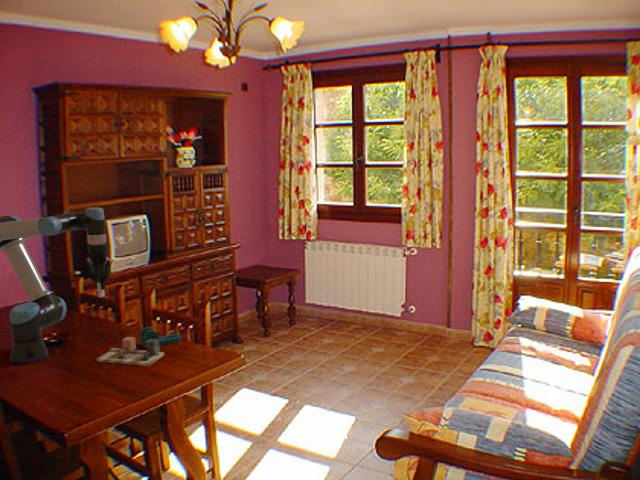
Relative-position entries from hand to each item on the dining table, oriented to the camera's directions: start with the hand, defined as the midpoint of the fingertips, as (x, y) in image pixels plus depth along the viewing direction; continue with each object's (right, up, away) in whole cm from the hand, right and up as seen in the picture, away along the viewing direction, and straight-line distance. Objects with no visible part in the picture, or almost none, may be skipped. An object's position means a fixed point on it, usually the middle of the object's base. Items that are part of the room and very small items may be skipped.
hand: (101, 296), depth 262 cm
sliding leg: (+11, -25, -1) cm, 27 cm away
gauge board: (+14, -27, -2) cm, 30 cm away
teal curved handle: (+22, -23, +16) cm, 36 cm away
